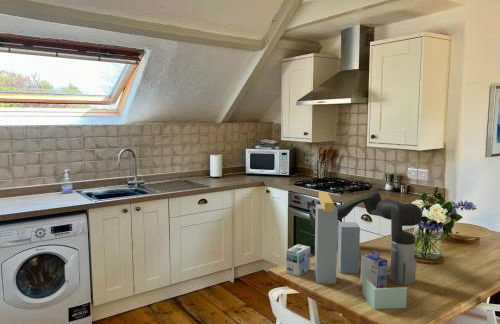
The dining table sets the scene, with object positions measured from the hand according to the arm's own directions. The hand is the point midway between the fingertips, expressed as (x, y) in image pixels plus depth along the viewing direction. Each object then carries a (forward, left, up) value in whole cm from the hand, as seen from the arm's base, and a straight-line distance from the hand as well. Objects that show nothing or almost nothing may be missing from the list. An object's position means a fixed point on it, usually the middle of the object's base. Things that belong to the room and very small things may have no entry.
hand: (323, 201), depth 188 cm
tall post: (-18, +12, -29) cm, 36 cm away
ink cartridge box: (-32, -2, -29) cm, 43 cm away
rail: (-16, +11, +3) cm, 19 cm away
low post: (-14, -4, -29) cm, 33 cm away
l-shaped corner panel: (-44, +4, -29) cm, 53 cm away
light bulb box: (-5, +17, -29) cm, 34 cm away
